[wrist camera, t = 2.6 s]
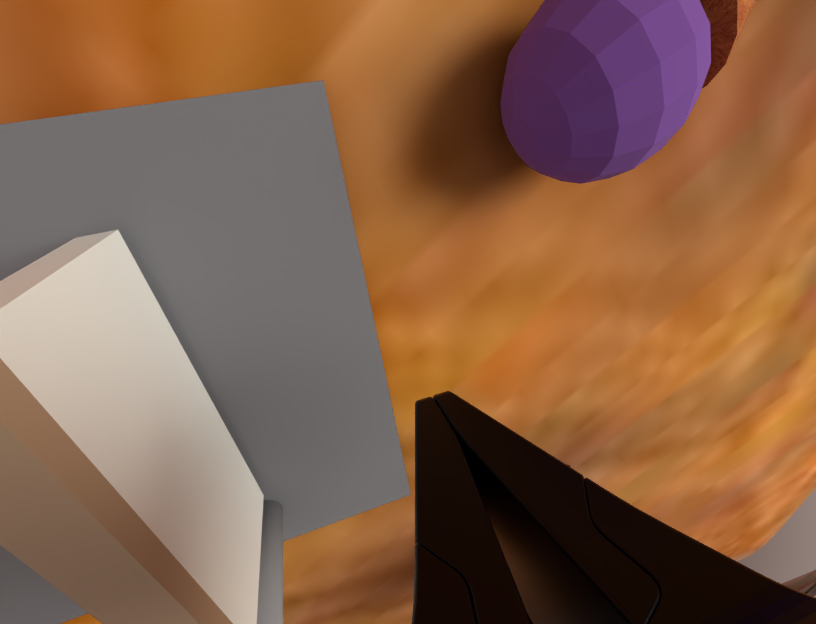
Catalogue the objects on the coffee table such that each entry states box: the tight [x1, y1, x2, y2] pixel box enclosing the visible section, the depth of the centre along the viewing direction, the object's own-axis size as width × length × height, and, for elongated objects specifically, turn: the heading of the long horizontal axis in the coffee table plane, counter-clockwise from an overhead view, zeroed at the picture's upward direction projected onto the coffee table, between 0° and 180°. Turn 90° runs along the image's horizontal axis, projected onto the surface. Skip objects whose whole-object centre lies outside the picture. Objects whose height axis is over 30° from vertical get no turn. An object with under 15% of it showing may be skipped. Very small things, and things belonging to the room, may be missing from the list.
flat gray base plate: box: [0, 81, 411, 624], centre depth 12 cm, size 22×24×8 cm
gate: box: [0, 230, 264, 624], centre depth 12 cm, size 14×2×7 cm, turn 8°
